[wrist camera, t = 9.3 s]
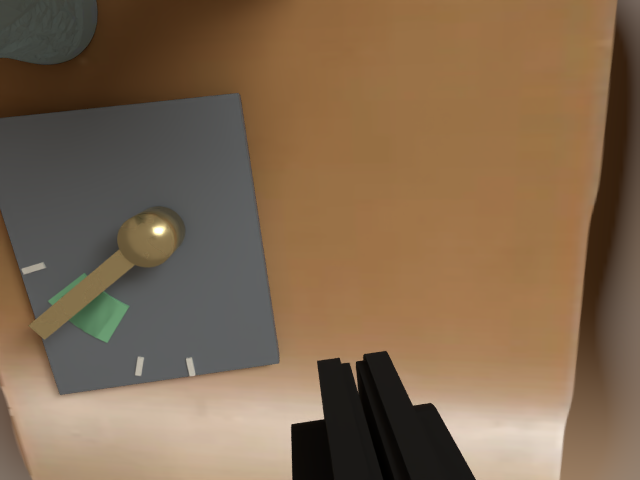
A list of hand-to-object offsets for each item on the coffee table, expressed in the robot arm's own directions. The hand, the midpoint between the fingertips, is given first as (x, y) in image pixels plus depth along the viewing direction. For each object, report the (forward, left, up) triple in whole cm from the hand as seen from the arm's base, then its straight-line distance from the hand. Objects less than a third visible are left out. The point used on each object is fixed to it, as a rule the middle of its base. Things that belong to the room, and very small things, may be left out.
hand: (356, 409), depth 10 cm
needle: (+3, -16, -25) cm, 30 cm away
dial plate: (+2, -14, -27) cm, 31 cm away
